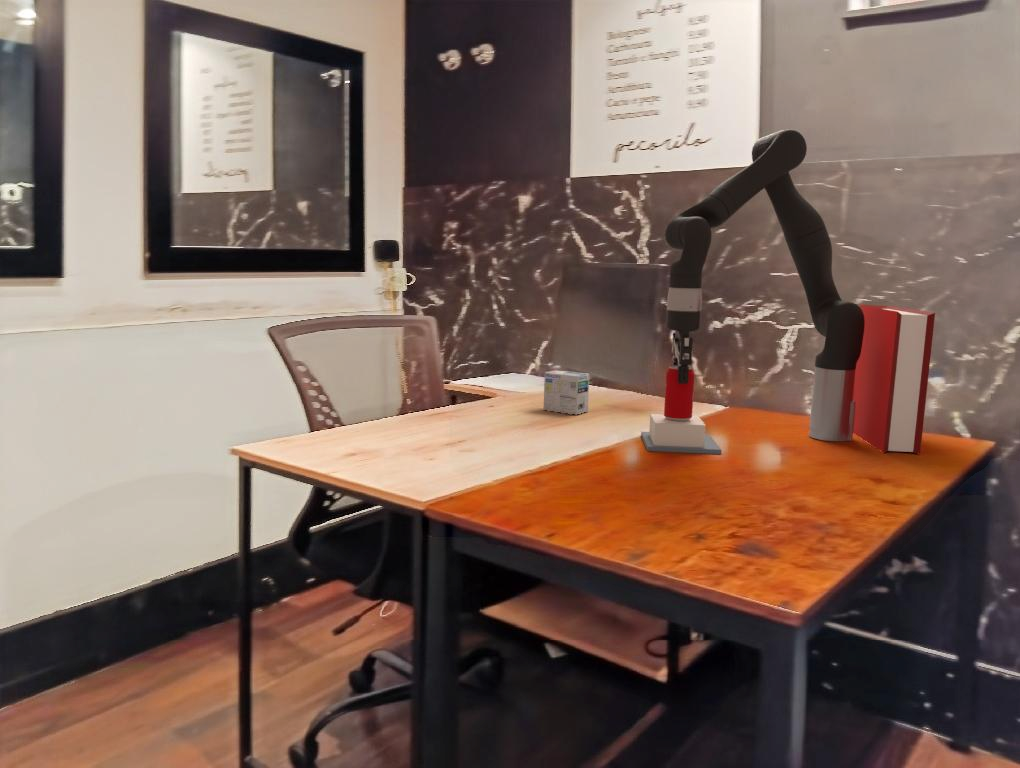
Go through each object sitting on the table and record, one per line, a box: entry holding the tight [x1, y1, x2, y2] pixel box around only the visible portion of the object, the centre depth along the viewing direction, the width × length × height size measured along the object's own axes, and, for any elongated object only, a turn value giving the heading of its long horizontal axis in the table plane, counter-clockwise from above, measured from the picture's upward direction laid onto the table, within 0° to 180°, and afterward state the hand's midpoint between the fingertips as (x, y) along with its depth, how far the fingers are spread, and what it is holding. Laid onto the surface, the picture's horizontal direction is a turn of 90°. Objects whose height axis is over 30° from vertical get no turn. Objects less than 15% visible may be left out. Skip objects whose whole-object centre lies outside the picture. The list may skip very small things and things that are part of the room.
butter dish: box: [640, 413, 722, 455], centre depth 191 cm, size 16×16×6 cm
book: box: [853, 304, 936, 455], centre depth 200 cm, size 27×8×32 cm, turn 175°
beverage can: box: [663, 365, 695, 421], centre depth 189 cm, size 6×6×12 cm
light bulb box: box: [543, 369, 590, 416], centre depth 228 cm, size 11×7×11 cm, turn 58°
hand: (680, 380), depth 189 cm, fingers open, 8 cm apart
